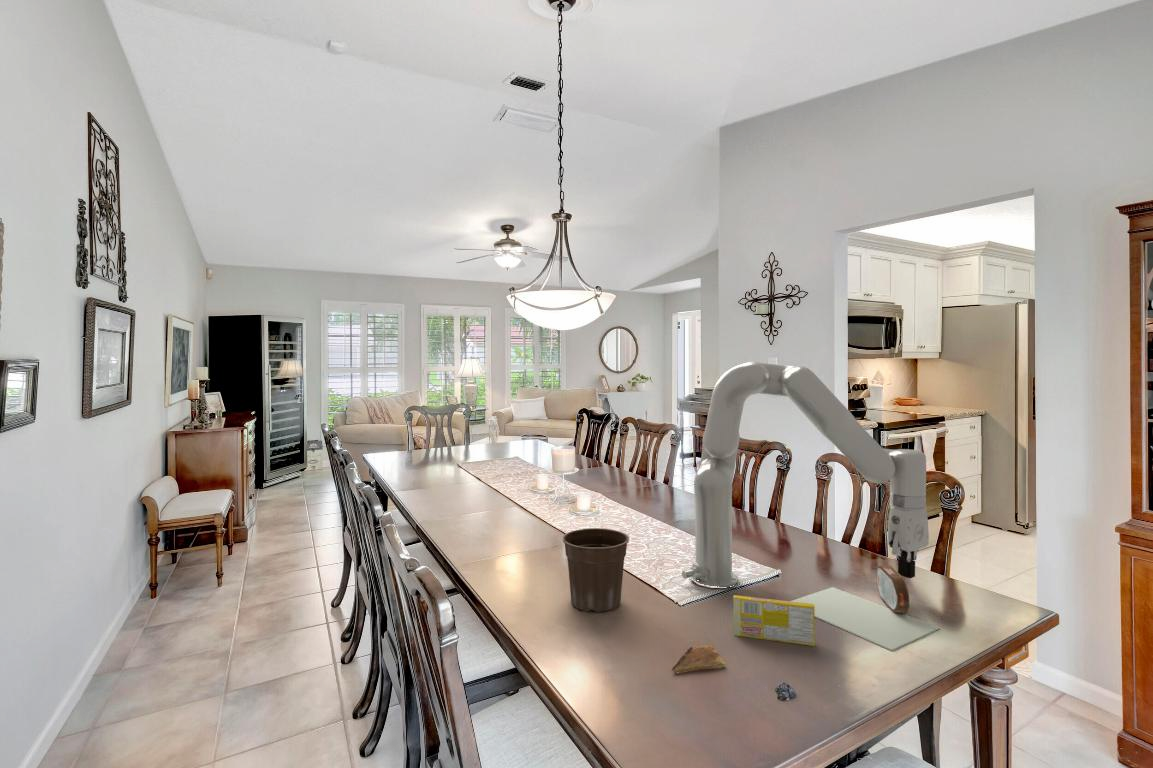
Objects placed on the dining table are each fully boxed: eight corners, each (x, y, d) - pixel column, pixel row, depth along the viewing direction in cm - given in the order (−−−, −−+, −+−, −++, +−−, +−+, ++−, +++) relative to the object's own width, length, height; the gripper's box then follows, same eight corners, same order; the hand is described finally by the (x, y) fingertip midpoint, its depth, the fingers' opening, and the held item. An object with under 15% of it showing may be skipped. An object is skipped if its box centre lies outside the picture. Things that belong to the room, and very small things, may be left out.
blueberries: (760, 705, 98) (760, 695, 97) (763, 677, 105) (763, 667, 105) (802, 714, 95) (803, 703, 95) (802, 684, 103) (802, 675, 102)
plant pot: (595, 583, 150) (594, 523, 149) (643, 601, 138) (642, 536, 138) (549, 602, 138) (548, 537, 138) (597, 623, 127) (596, 552, 126)
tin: (910, 619, 126) (911, 582, 126) (894, 618, 127) (896, 580, 127) (887, 594, 141) (888, 560, 141) (873, 593, 141) (874, 559, 141)
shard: (672, 677, 106) (671, 667, 106) (659, 656, 113) (659, 647, 113) (726, 671, 108) (726, 661, 108) (710, 651, 115) (710, 642, 115)
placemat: (891, 651, 113) (891, 649, 113) (785, 604, 136) (785, 602, 136) (940, 628, 122) (940, 627, 122) (832, 588, 145) (832, 587, 145)
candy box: (814, 642, 117) (814, 603, 117) (815, 647, 115) (815, 607, 115) (733, 631, 123) (733, 593, 122) (733, 635, 121) (733, 597, 120)
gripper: (905, 508, 129) (904, 587, 130) (940, 500, 137) (939, 574, 137) (874, 502, 136) (873, 577, 136) (909, 494, 143) (908, 565, 144)
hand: (906, 575), depth 137 cm, fingers closed
